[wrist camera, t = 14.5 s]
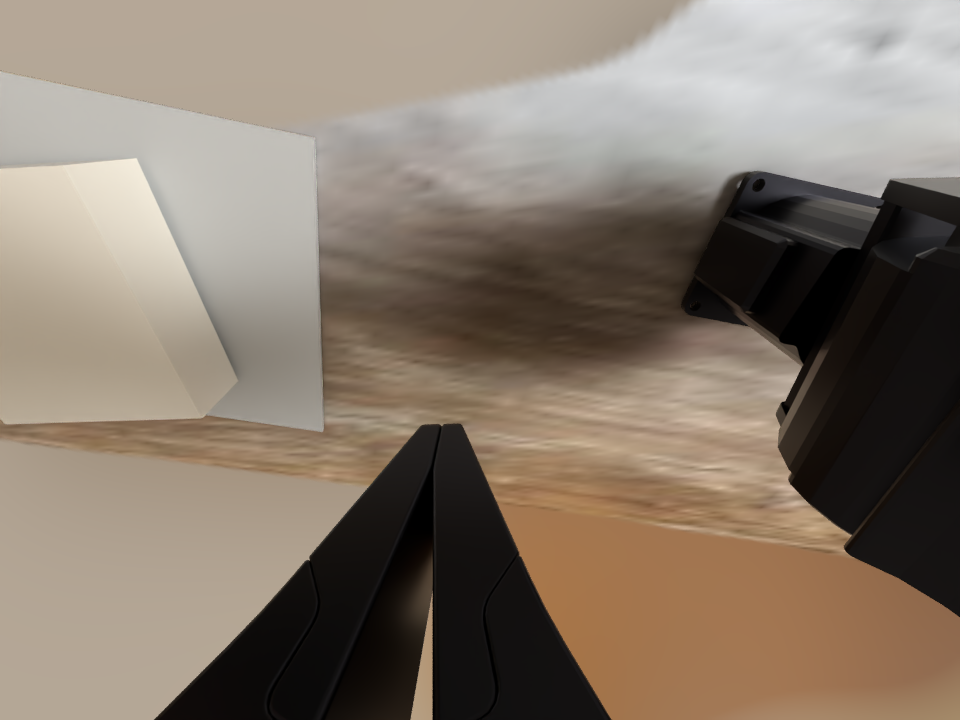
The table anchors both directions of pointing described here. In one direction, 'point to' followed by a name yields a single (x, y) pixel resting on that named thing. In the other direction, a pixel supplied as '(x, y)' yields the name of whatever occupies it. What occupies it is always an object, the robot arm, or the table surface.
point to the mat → (208, 225)
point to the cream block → (98, 302)
